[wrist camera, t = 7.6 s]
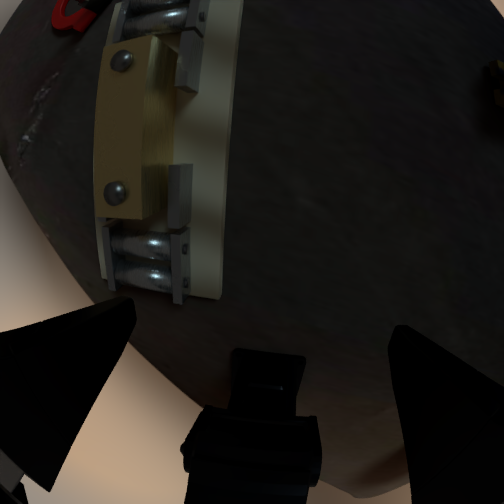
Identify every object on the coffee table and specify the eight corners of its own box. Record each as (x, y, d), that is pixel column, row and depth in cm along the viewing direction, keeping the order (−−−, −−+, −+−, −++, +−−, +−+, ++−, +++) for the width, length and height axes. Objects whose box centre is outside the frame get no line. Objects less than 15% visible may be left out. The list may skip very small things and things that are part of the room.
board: (221, 293, 22) (218, 299, 21) (107, 273, 23) (102, 278, 22) (245, -13, 13) (243, -20, 12) (121, 7, 14) (116, 3, 13)
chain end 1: (135, 0, 13) (121, -11, 11) (214, -15, 13) (206, -30, 10) (116, 100, 17) (99, 97, 14) (199, 92, 16) (188, 85, 14)
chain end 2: (192, 292, 21) (182, 307, 19) (119, 279, 22) (105, 291, 20) (194, 163, 18) (182, 165, 16) (113, 163, 18) (95, 166, 16)
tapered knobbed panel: (172, 204, 19) (138, 221, 14) (131, 202, 19) (92, 218, 15) (180, 55, 15) (149, 32, 10) (138, 62, 15) (100, 45, 11)
